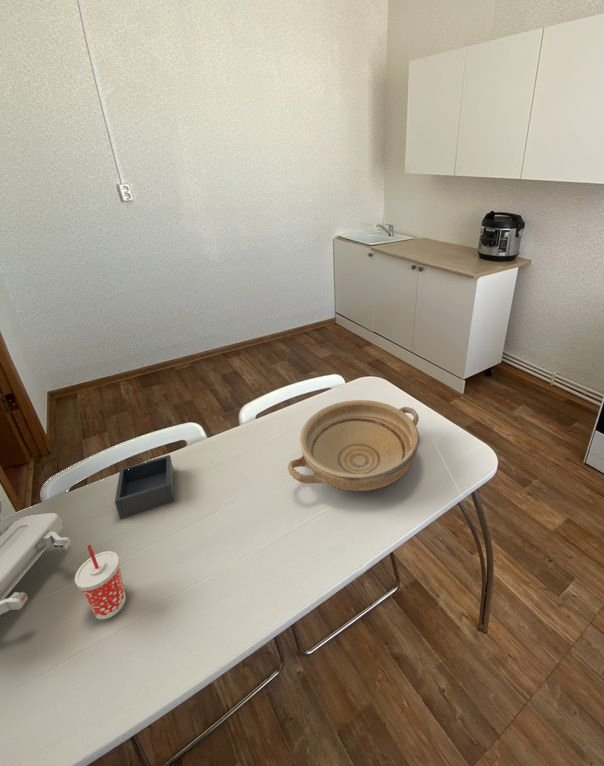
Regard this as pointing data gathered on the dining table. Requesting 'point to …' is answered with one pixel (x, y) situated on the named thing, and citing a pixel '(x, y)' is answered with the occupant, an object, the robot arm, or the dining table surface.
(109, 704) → the dining table surface
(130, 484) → the case
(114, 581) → the beverage cup
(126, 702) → the dining table surface
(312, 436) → the ceramic bowl
